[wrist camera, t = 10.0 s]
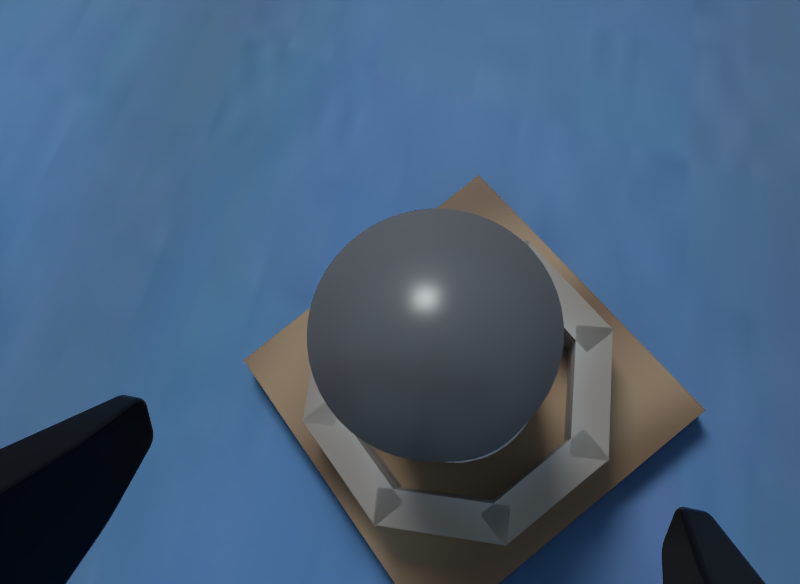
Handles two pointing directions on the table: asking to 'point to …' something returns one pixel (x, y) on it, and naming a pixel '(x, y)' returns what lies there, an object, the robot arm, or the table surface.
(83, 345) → the table surface
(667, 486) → the table surface
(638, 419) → the walnut mount board
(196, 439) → the table surface
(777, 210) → the table surface
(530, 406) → the grey dome-topped cylinder
